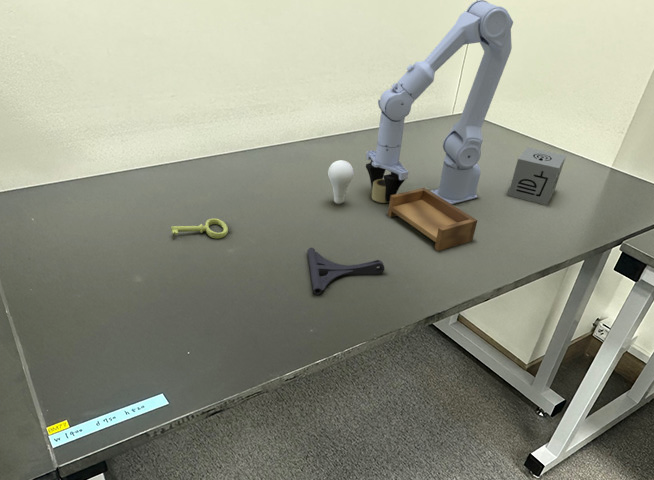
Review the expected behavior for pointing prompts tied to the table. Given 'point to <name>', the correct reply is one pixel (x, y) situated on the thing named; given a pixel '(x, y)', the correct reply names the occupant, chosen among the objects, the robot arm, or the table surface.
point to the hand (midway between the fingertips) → (382, 195)
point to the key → (203, 228)
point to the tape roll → (379, 191)
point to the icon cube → (536, 175)
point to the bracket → (336, 270)
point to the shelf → (433, 217)
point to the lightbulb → (340, 179)
